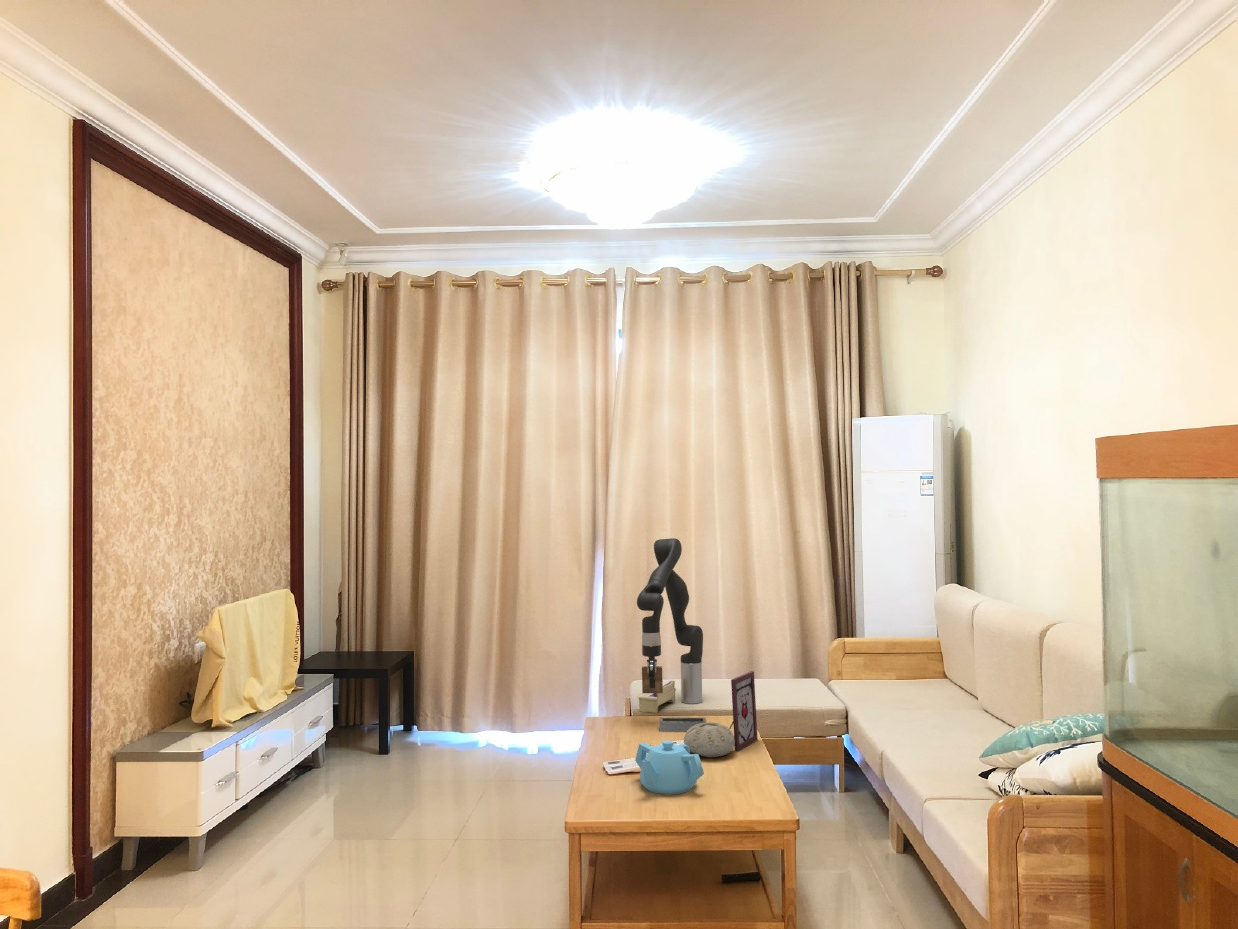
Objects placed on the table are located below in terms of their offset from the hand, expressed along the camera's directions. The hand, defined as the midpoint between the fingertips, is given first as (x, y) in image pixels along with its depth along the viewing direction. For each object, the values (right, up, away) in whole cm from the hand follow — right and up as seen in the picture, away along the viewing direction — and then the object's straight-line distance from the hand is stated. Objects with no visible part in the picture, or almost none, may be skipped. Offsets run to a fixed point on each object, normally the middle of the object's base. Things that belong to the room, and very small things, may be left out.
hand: (652, 686), depth 335 cm
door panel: (0, -2, 0) cm, 2 cm away
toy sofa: (+3, -16, +27) cm, 31 cm away
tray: (+11, -14, -9) cm, 20 cm away
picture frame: (+29, -13, -29) cm, 43 cm away
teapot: (+2, -12, -73) cm, 74 cm away
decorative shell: (+18, -13, -40) cm, 46 cm away
